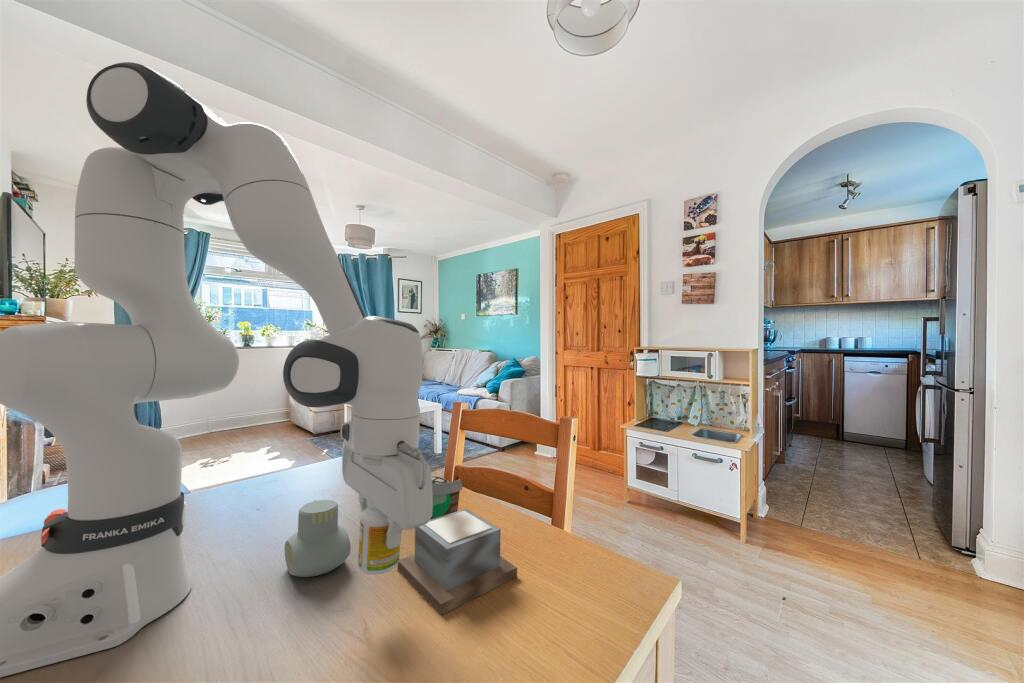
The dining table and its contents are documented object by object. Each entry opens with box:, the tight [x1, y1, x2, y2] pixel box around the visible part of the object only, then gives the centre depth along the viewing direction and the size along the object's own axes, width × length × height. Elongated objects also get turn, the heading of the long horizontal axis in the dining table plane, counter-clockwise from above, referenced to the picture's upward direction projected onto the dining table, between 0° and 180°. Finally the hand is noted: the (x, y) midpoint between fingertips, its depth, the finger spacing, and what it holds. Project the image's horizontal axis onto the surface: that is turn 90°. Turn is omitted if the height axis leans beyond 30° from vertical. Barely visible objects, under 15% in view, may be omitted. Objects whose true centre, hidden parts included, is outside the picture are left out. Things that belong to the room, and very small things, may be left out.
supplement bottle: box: [357, 495, 401, 576], centre depth 52 cm, size 5×5×10 cm
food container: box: [430, 476, 463, 520], centre depth 77 cm, size 12×6×10 cm, turn 62°
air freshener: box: [284, 499, 351, 578], centre depth 63 cm, size 11×8×10 cm
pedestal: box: [397, 508, 518, 616], centre depth 62 cm, size 14×14×8 cm
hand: (380, 535), depth 52 cm, fingers closed on supplement bottle, 5 cm apart
